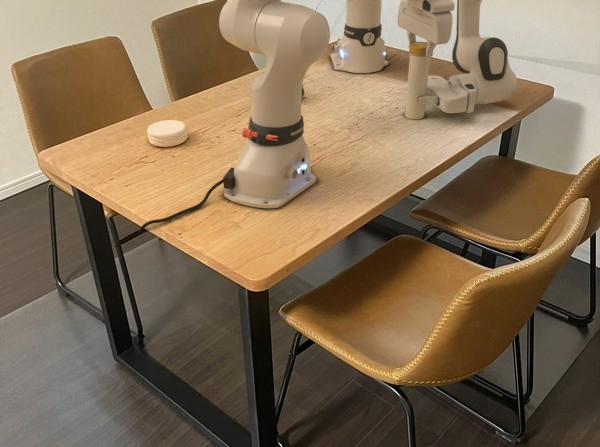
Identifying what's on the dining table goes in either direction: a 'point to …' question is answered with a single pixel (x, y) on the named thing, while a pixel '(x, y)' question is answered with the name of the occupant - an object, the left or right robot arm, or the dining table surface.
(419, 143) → the dining table surface
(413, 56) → the jar
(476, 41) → the right robot arm
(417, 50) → the lid
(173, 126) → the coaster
